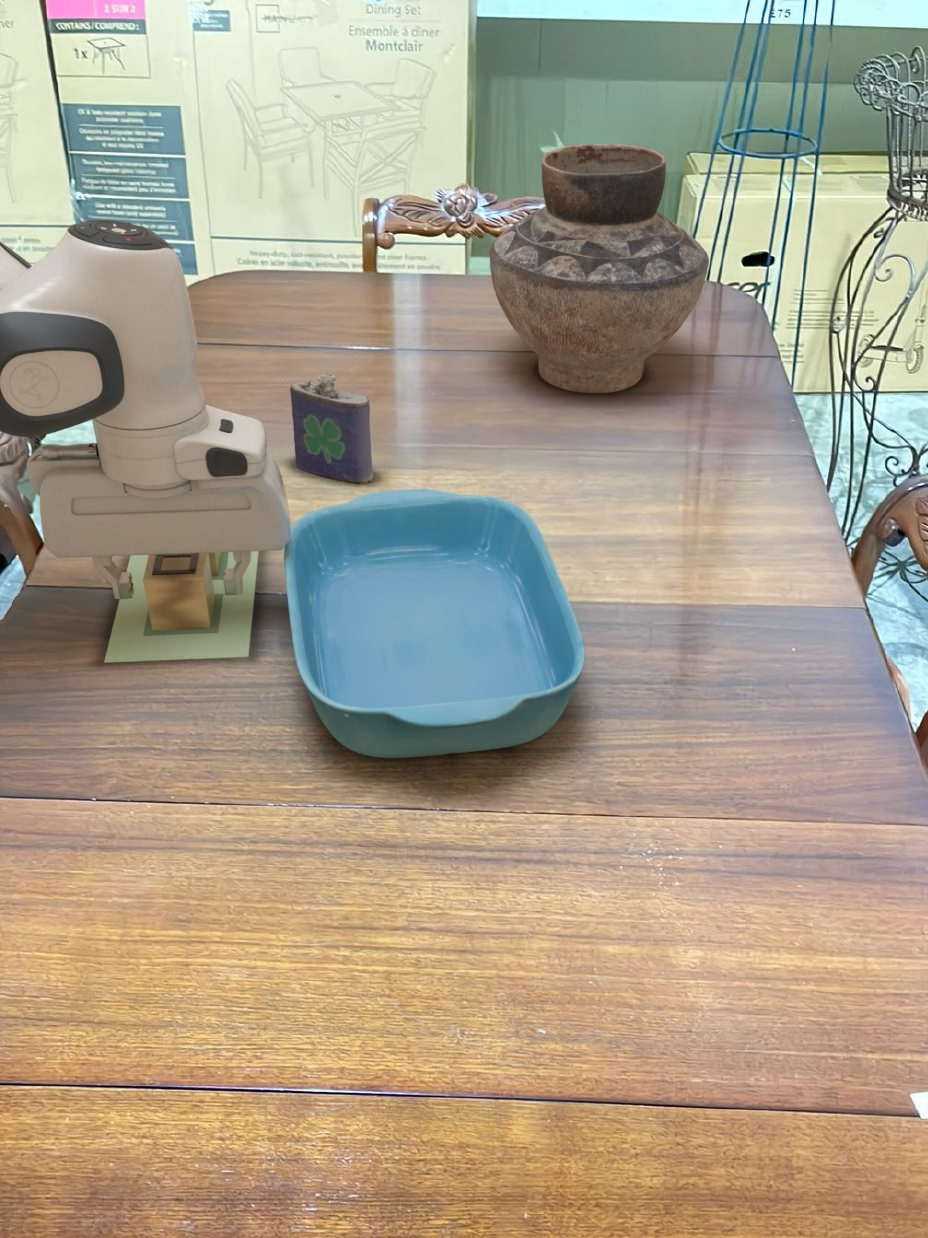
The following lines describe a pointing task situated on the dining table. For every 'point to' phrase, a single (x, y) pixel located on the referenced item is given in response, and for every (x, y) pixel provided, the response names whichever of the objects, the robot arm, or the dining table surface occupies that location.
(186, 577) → the letter O
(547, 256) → the ceramic pot
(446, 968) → the dining table surface
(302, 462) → the flask
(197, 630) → the word mat
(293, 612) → the casserole dish
